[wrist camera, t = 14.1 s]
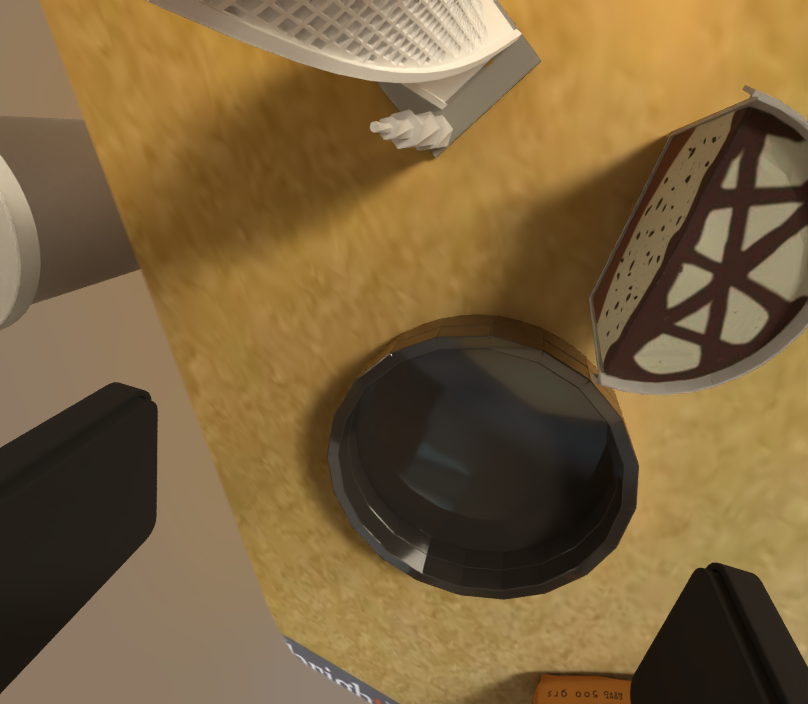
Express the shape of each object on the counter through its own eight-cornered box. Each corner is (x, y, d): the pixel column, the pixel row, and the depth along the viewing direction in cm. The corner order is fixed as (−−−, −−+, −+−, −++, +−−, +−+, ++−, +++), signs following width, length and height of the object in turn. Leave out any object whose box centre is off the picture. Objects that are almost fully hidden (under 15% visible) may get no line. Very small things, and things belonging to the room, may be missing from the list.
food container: (678, 359, 31) (739, 451, 21) (577, 321, 31) (594, 395, 22) (810, 141, 25) (963, 142, 16) (686, 100, 26) (767, 78, 17)
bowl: (331, 508, 41) (311, 544, 37) (373, 280, 33) (353, 297, 29) (570, 588, 38) (574, 635, 35) (675, 362, 31) (694, 392, 27)
